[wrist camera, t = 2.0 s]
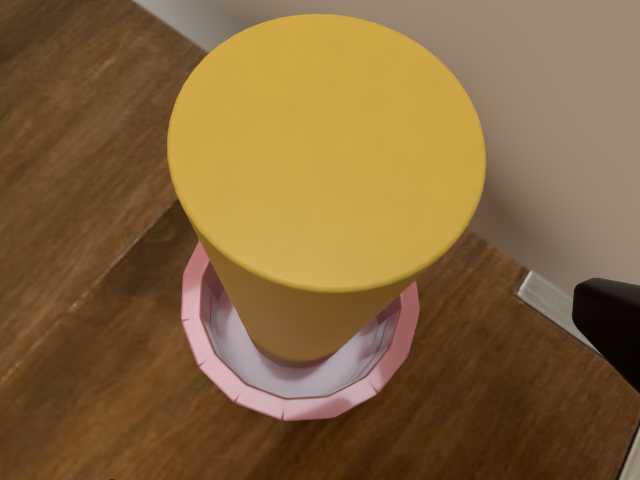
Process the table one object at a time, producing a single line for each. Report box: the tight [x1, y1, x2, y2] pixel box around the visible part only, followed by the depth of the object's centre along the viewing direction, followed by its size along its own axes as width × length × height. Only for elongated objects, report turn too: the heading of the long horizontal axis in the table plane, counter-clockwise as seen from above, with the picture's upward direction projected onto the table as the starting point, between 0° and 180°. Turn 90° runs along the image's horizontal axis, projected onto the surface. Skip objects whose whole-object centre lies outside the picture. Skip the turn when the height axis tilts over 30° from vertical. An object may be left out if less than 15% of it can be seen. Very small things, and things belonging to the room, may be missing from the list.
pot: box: [181, 240, 420, 421], centre depth 16 cm, size 7×7×6 cm
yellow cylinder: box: [167, 14, 486, 368], centre depth 11 cm, size 4×4×12 cm
